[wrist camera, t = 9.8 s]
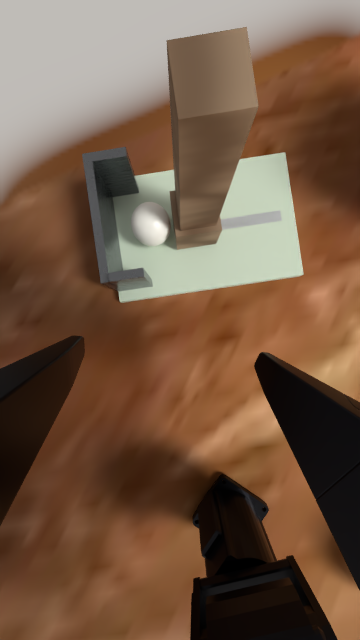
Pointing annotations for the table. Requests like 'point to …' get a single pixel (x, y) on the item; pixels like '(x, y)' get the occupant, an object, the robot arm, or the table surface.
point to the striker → (207, 127)
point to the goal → (111, 215)
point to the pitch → (233, 243)
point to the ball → (150, 224)
